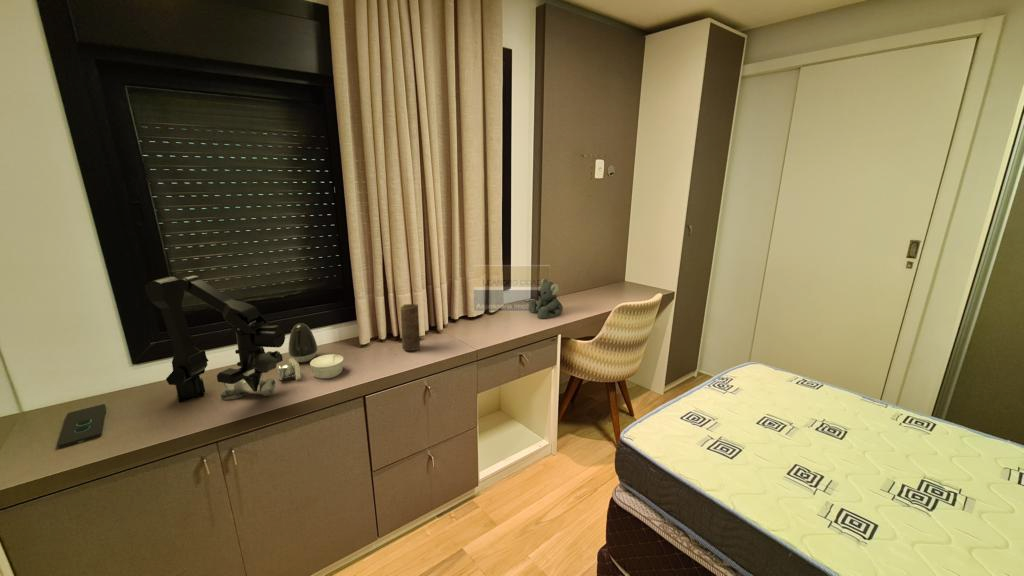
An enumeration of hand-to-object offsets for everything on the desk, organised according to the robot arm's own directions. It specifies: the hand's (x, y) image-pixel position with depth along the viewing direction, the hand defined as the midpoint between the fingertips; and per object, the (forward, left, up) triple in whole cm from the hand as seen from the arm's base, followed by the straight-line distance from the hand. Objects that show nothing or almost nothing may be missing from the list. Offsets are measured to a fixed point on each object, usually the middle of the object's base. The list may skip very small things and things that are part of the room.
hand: (255, 391), depth 125 cm
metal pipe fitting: (+3, +9, -3) cm, 10 cm away
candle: (+58, +3, -3) cm, 58 cm away
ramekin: (+24, +4, -3) cm, 24 cm away
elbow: (-1, +5, -3) cm, 6 cm away
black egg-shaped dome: (+21, +22, -3) cm, 30 cm away
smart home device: (-39, +16, -4) cm, 43 cm away
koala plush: (+140, -3, -3) cm, 140 cm away
